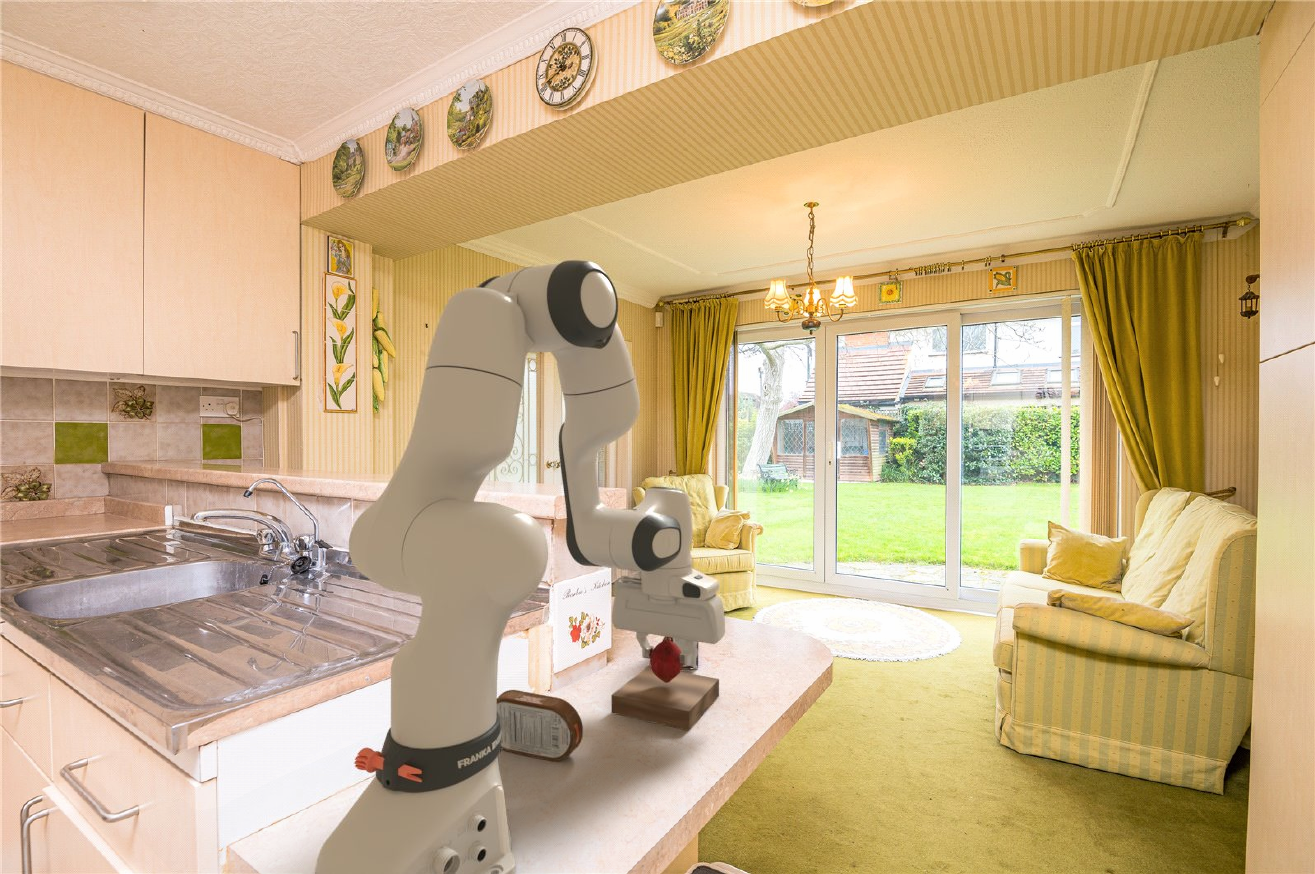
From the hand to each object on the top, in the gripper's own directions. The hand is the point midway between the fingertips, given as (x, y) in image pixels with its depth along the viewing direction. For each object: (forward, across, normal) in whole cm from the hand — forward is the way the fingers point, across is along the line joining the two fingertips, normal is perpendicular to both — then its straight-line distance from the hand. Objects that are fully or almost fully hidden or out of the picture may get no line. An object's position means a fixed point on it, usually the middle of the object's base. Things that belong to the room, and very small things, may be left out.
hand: (666, 660), depth 102 cm
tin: (+8, -11, -23) cm, 27 cm away
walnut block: (+8, 0, 0) cm, 8 cm away
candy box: (+8, -6, +22) cm, 24 cm away
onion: (+4, 0, 0) cm, 4 cm away
